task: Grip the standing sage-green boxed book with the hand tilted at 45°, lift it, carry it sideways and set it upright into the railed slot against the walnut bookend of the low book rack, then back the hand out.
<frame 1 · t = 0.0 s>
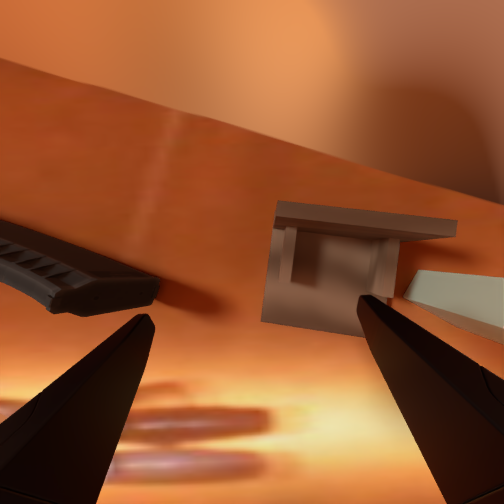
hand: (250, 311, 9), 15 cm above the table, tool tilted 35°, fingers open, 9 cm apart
book: (437, 298, 22), on the table
magazine: (54, 249, 26), on the table
book rack: (326, 257, 23), on the table
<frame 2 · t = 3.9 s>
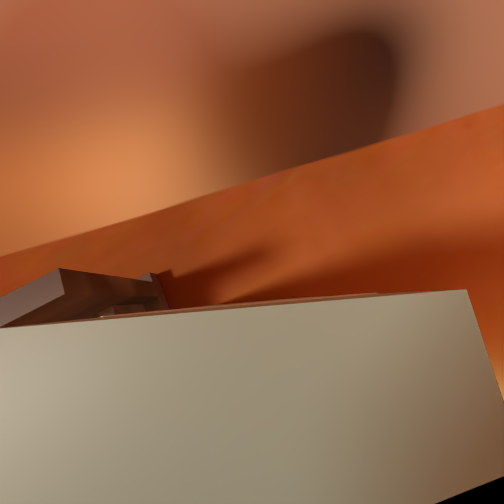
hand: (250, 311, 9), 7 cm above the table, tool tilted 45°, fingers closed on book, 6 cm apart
book: (261, 325, 15), on the table, touching gripper
book rack: (99, 366, 15), on the table
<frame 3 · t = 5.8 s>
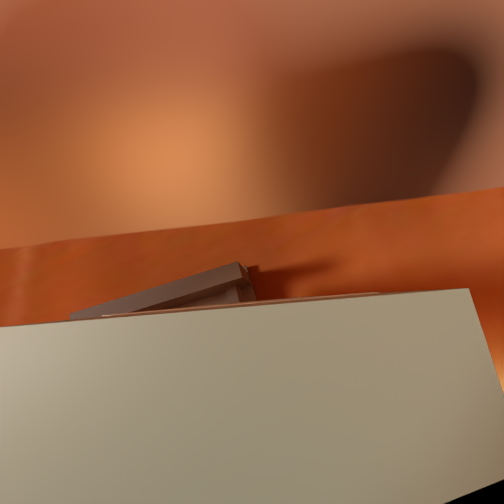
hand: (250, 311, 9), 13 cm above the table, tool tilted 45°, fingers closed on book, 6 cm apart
book: (261, 324, 15), point 7 cm above the table, touching gripper
book rack: (201, 324, 22), on the table
when the fingers open (9 cm above the table, at t = 7.9 s): book drops 1 cm, resting on book rack.
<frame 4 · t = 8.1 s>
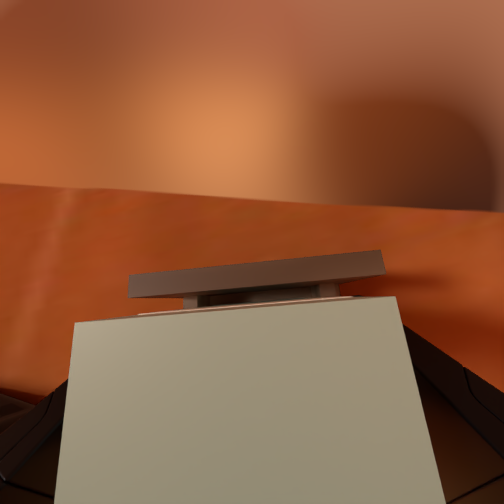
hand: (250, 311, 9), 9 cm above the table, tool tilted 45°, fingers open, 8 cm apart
book: (262, 323, 16), point 1 cm above the table, touching book rack
book rack: (262, 321, 17), on the table
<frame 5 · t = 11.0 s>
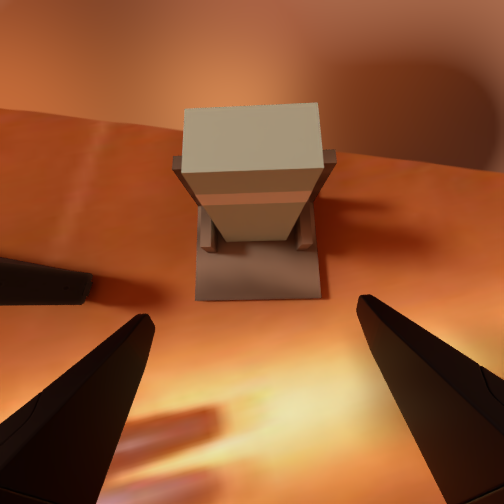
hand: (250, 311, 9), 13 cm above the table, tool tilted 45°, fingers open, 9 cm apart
book: (255, 225, 22), point 1 cm above the table, touching book rack
book rack: (255, 228, 23), on the table
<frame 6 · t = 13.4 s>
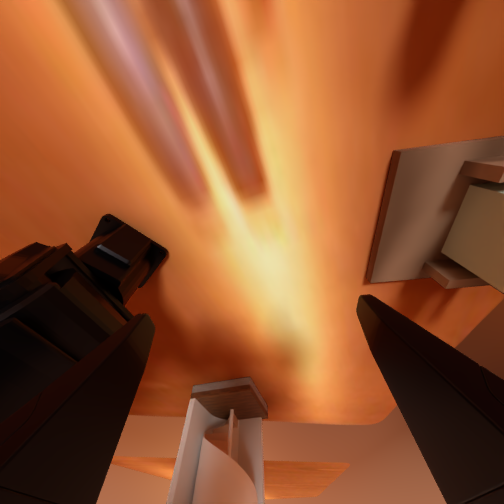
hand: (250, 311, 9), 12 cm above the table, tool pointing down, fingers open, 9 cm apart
display case: (232, 395, 38), on the table
book: (474, 219, 18), point 1 cm above the table, touching book rack
book rack: (465, 215, 19), on the table
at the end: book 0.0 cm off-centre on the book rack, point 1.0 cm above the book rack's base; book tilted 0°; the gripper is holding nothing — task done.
